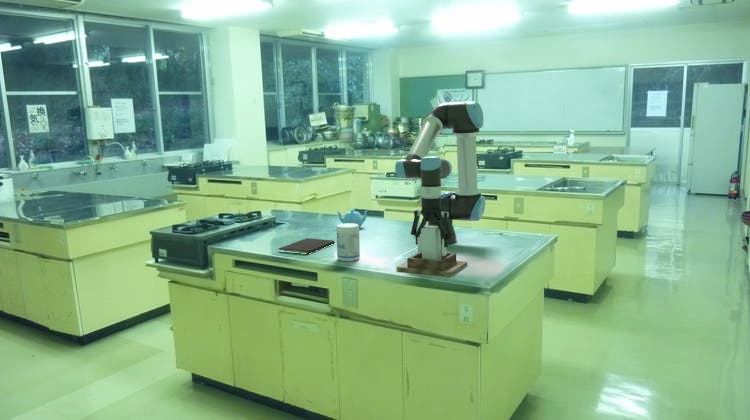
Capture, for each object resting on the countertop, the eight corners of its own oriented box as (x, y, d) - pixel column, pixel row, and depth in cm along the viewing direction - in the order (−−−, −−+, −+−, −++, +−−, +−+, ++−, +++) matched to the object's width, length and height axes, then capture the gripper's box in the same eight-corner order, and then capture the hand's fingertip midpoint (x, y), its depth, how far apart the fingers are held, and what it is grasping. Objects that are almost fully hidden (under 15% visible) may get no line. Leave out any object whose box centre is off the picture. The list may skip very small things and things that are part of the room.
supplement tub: (332, 259, 229) (331, 225, 226) (348, 255, 236) (346, 222, 233) (349, 263, 222) (348, 228, 220) (364, 258, 230) (363, 224, 227)
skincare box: (436, 267, 206) (435, 229, 204) (421, 266, 208) (420, 228, 206) (441, 261, 214) (441, 225, 212) (427, 261, 216) (426, 224, 214)
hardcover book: (278, 253, 246) (278, 248, 245) (307, 242, 266) (306, 238, 266) (307, 256, 239) (307, 251, 238) (335, 245, 259) (334, 240, 258)
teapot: (369, 227, 296) (369, 209, 295) (351, 231, 288) (350, 212, 286) (354, 224, 306) (353, 207, 304) (336, 228, 297) (335, 210, 295)
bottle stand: (396, 270, 209) (396, 258, 208) (416, 259, 224) (416, 248, 224) (449, 277, 198) (449, 264, 197) (467, 265, 213) (467, 253, 213)
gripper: (400, 197, 209) (402, 253, 213) (454, 199, 198) (455, 259, 202) (409, 194, 215) (410, 249, 219) (462, 197, 204) (462, 254, 208)
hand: (432, 254), depth 210 cm, fingers open, 9 cm apart
